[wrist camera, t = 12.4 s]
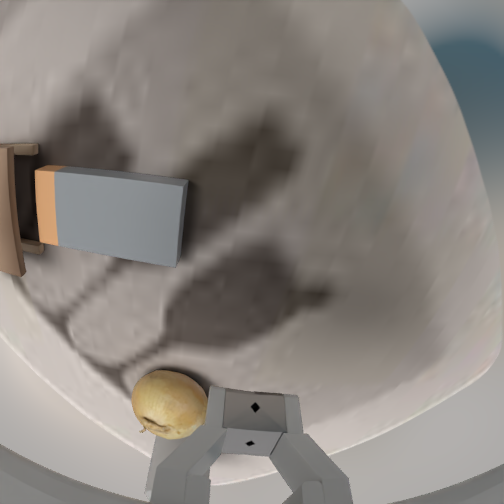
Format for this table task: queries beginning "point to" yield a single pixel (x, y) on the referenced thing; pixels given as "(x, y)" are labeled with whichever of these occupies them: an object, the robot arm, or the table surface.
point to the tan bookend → (13, 213)
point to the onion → (169, 404)
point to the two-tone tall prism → (112, 212)
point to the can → (162, 458)
